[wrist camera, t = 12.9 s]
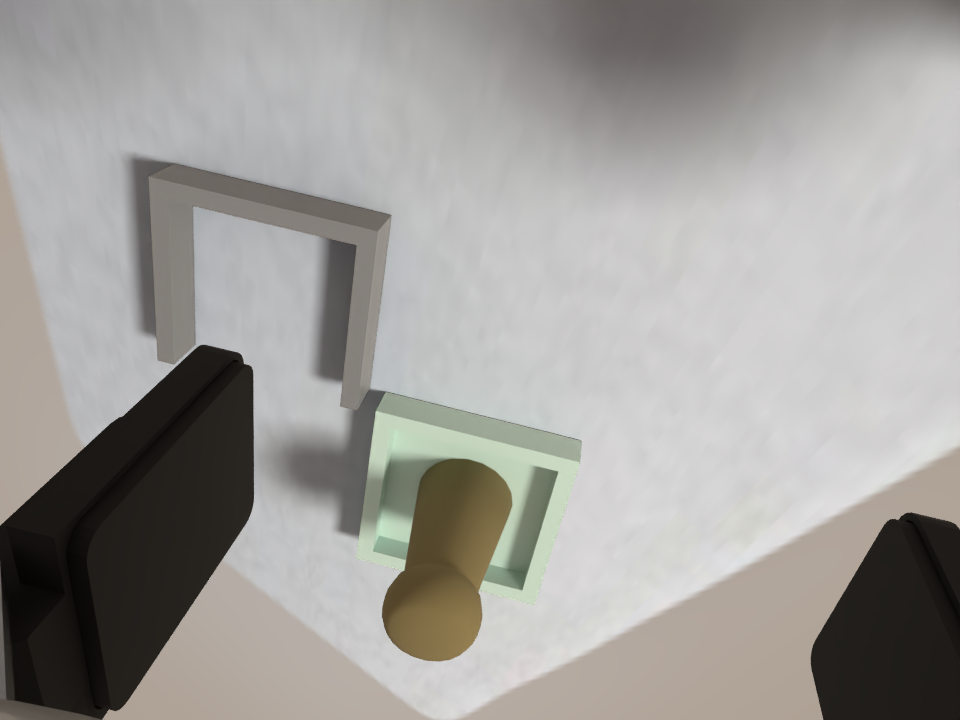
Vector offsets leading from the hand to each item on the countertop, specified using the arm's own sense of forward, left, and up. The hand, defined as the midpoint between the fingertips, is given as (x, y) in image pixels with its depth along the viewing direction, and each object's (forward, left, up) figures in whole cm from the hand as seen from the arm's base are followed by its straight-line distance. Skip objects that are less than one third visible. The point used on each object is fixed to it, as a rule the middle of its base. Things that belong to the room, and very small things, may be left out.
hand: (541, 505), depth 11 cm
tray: (+2, +24, -28) cm, 37 cm away
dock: (+15, +13, -28) cm, 34 cm away
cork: (+2, +24, -27) cm, 36 cm away
